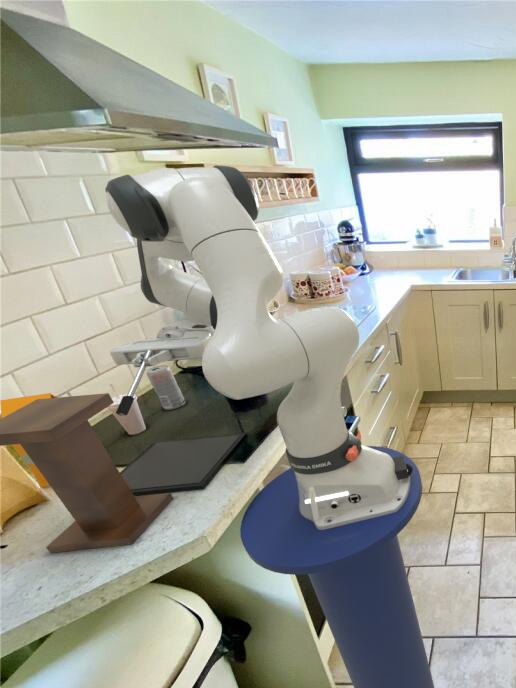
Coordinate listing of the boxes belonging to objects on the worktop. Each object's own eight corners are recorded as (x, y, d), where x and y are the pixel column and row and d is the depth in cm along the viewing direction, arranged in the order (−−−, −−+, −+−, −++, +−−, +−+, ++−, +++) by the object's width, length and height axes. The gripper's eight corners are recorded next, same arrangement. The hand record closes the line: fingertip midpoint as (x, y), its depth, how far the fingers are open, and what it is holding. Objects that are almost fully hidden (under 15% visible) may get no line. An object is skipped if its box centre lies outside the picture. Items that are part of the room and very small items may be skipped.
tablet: (247, 436, 106) (246, 432, 106) (204, 489, 88) (202, 485, 88) (157, 444, 105) (155, 440, 104) (94, 500, 87) (91, 496, 86)
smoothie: (145, 422, 115) (120, 376, 109) (157, 427, 112) (132, 381, 106) (117, 434, 110) (89, 387, 104) (129, 439, 107) (101, 392, 101)
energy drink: (179, 399, 126) (162, 363, 120) (190, 403, 124) (172, 366, 118) (160, 408, 122) (141, 371, 116) (170, 411, 120) (151, 374, 114)
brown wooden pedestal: (173, 498, 86) (114, 392, 75) (132, 544, 76) (56, 429, 64) (102, 505, 85) (31, 399, 74) (50, 553, 75) (-42, 438, 63)
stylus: (155, 352, 93) (151, 349, 92) (127, 415, 84) (122, 412, 83) (148, 352, 93) (144, 349, 92) (119, 415, 84) (115, 413, 83)
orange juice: (64, 466, 98) (13, 392, 89) (108, 458, 100) (63, 385, 91) (41, 487, 92) (-16, 409, 82) (89, 478, 94) (38, 401, 84)
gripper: (130, 331, 100) (83, 354, 88) (218, 325, 102) (185, 346, 89) (142, 355, 103) (98, 380, 91) (228, 349, 105) (196, 372, 92)
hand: (142, 363), depth 90 cm, fingers closed on stylus, 1 cm apart
